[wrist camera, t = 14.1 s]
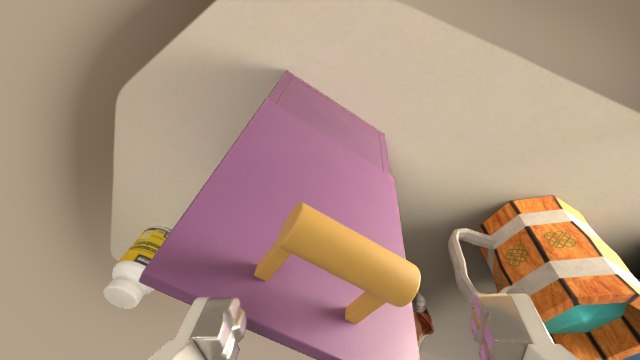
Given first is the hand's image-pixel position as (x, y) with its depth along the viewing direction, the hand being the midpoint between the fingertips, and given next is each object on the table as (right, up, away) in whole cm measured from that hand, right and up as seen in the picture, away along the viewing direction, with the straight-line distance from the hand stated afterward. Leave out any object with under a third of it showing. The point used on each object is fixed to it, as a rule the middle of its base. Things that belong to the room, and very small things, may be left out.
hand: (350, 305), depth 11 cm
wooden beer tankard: (+25, -2, +34) cm, 43 cm away
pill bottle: (-27, -5, +42) cm, 51 cm away
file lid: (-1, +2, +10) cm, 11 cm away
